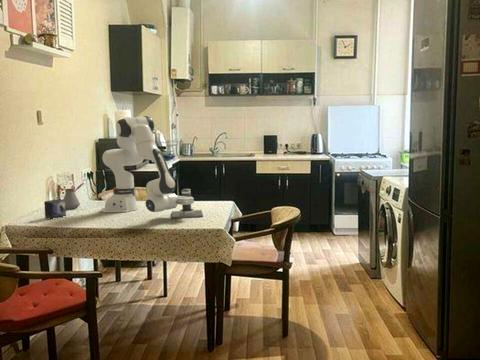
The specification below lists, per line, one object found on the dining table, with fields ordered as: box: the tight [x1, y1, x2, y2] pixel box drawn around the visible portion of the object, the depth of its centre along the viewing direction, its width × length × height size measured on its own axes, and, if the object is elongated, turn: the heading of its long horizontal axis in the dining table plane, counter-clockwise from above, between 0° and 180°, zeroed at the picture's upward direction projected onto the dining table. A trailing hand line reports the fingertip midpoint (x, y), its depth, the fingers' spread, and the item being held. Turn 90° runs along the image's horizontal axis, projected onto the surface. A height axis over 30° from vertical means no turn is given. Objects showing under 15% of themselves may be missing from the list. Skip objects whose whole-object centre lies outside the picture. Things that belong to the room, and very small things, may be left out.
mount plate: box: [171, 208, 204, 220], centre depth 289 cm, size 18×16×3 cm
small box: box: [43, 198, 67, 220], centre depth 291 cm, size 11×6×10 cm, turn 148°
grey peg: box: [181, 188, 192, 210], centre depth 288 cm, size 5×5×12 cm
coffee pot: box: [62, 182, 86, 210], centre depth 323 cm, size 21×12×15 cm, turn 162°
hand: (187, 197), depth 288 cm, fingers closed on grey peg, 5 cm apart
